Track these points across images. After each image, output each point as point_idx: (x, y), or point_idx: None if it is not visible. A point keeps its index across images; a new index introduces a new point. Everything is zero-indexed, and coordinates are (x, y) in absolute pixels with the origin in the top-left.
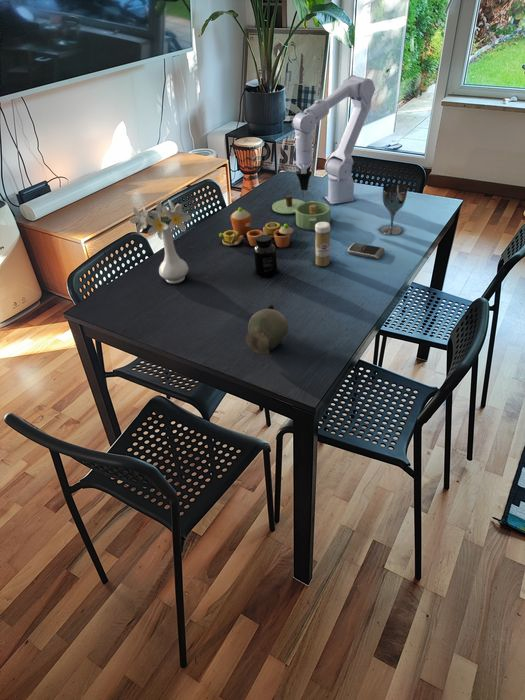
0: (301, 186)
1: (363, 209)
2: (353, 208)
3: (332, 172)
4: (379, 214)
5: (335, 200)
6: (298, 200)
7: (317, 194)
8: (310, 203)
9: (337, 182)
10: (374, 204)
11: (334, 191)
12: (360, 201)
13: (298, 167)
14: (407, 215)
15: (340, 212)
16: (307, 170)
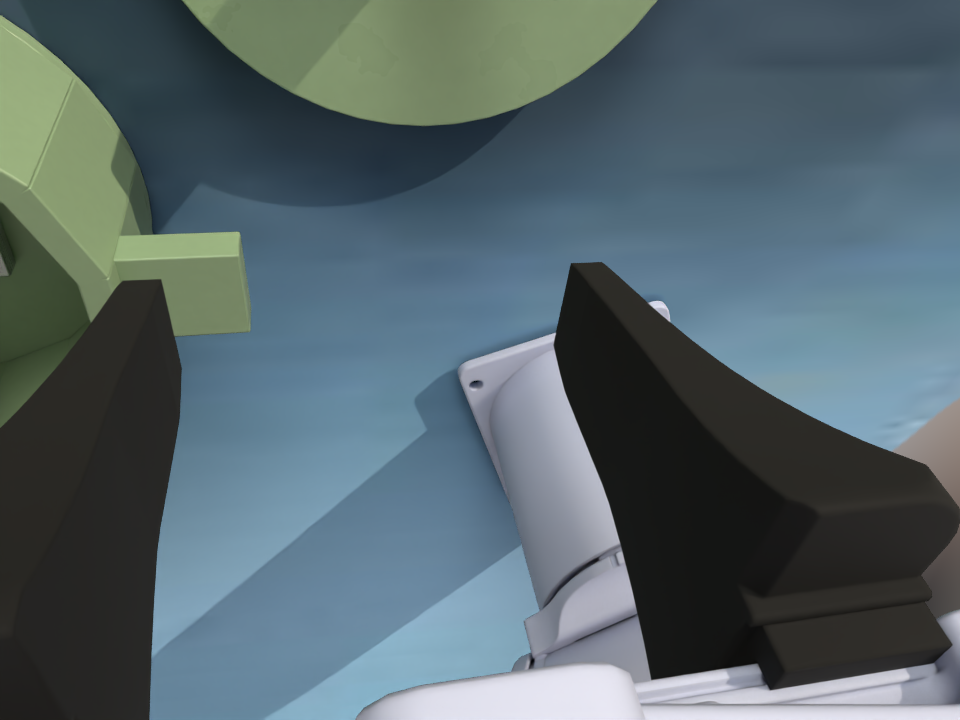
0: (89, 345)
1: (329, 555)
2: (354, 504)
3: (640, 653)
4: (231, 628)
5: (498, 408)
6: (614, 7)
7: (783, 224)
8: (82, 280)
9: (542, 588)
10: (419, 594)
11: (527, 475)
12: (494, 529)
13: (737, 470)
14: (223, 717)
15: (262, 432)
16: (635, 541)
